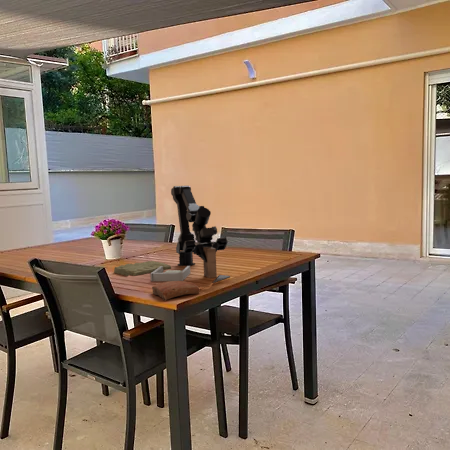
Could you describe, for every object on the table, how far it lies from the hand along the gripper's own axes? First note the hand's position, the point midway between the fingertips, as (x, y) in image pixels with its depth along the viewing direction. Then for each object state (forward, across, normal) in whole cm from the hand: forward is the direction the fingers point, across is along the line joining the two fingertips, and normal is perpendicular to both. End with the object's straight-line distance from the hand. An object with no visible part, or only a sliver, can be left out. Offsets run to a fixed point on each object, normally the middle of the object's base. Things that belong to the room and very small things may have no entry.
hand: (210, 261), depth 184 cm
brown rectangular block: (+4, 0, +6) cm, 7 cm away
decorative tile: (-17, -23, +28) cm, 40 cm away
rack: (-1, -15, +12) cm, 19 cm away
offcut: (-4, -13, +14) cm, 19 cm away
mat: (+4, 0, +6) cm, 8 cm away
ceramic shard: (+16, -21, -5) cm, 27 cm away
